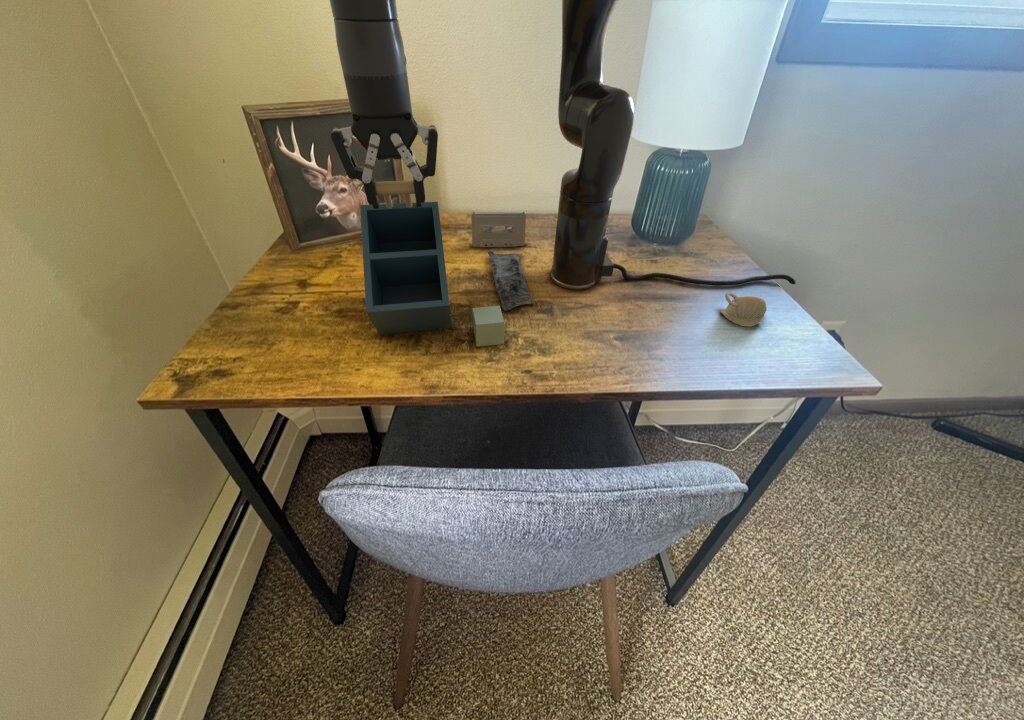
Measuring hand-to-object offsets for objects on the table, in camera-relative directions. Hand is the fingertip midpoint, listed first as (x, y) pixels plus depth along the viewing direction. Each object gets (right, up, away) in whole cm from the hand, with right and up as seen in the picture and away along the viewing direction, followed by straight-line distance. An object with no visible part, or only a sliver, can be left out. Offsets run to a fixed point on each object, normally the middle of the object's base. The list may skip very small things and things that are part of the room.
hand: (398, 205), depth 60 cm
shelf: (-1, -10, +11) cm, 14 cm away
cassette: (+14, +3, +32) cm, 35 cm away
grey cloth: (+17, -7, +21) cm, 28 cm away
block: (+13, -19, +8) cm, 25 cm away
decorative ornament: (+59, -16, +14) cm, 62 cm away
